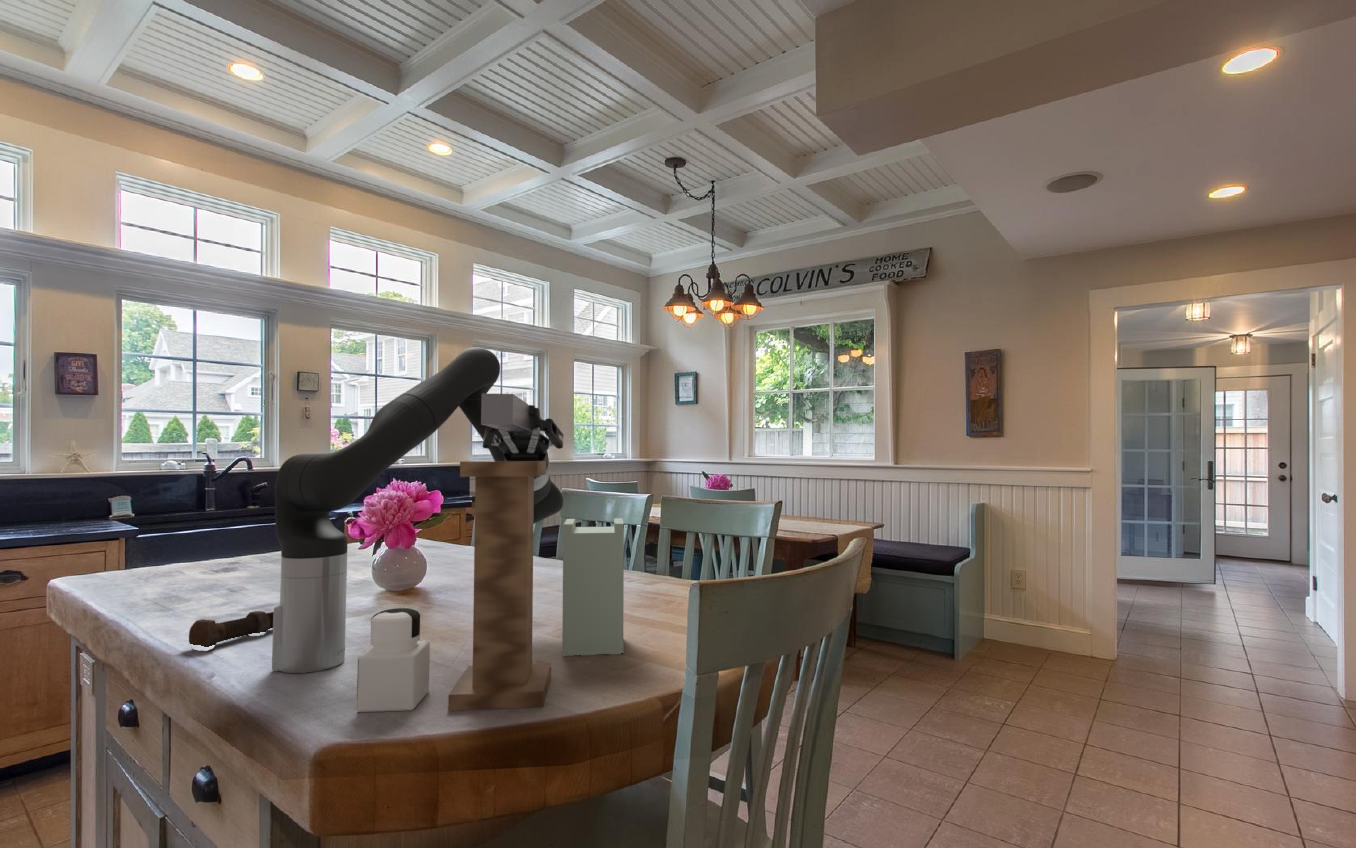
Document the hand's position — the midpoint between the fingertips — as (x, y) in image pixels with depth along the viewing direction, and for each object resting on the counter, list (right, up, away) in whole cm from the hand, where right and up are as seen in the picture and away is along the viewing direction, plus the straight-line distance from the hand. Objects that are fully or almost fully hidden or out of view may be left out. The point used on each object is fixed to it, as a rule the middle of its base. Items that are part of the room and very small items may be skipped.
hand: (517, 409), depth 103 cm
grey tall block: (+11, -41, +9) cm, 43 cm away
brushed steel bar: (+1, -3, -7) cm, 7 cm away
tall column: (+1, -40, -13) cm, 42 cm away
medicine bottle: (-12, -40, -16) cm, 45 cm away
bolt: (-53, -42, +14) cm, 69 cm away
